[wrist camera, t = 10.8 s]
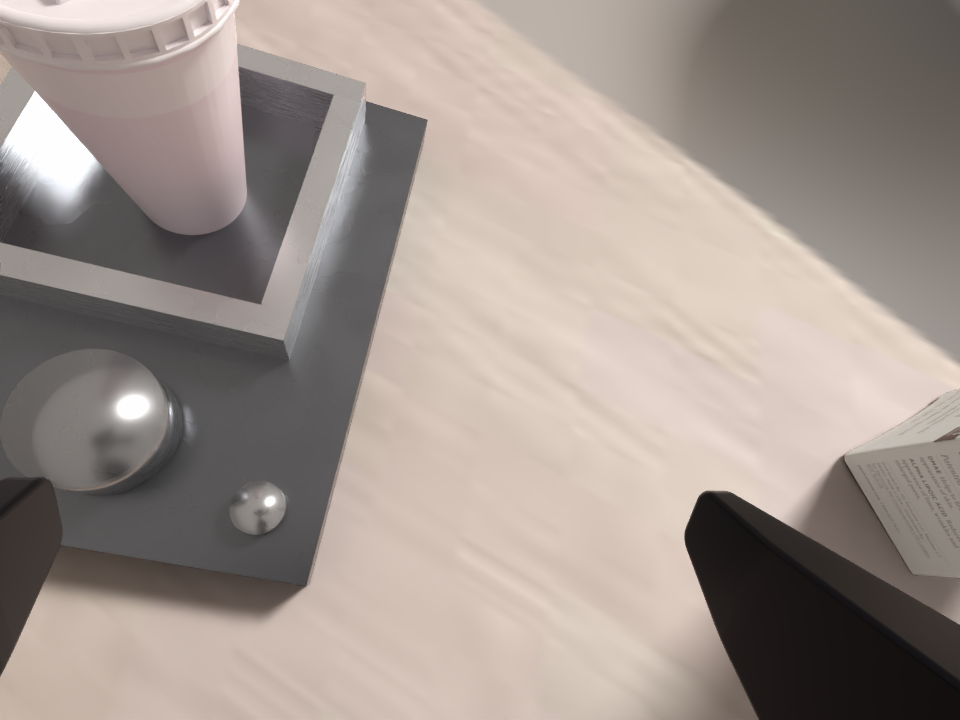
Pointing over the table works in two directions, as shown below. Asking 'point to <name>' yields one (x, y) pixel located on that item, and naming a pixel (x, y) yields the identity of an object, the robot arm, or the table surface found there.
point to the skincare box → (917, 486)
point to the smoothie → (143, 96)
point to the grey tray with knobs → (199, 326)
